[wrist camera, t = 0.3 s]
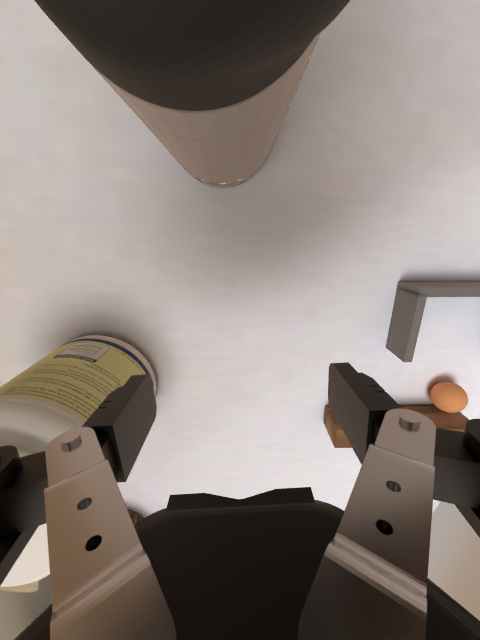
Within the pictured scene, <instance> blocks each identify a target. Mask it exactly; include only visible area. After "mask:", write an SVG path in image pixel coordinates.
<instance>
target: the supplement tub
mask: <svg viewBox="0 0 480 640" xmlns="http://www.w3.org/2000/svg"><path fill="white" fill-rule="evenodd" d="M143 374H150V376H151V378H152V383H153V389H154V394H155V398H156V380H155V375H154V372H153V370H152V368H151V366H150V364H149V363H148V361H147V360H146V359H145V357H144V356H143V355H142V354H141V353H140V352H139V351H138V350H137V349H135V348H134V347H132V346H131V345H129V344H127V343H126V342H123V341H121V340H119V339H116V338H112V337H108V336H100V335H91V336H83V337H79V338H76V339H73V340H70V341H68V342H66V343H64V344H63V345H61V346H60V347H59V348H57V349H56V350H54V351H53V352H51V353H50V354H49V355H47V356H46V357H44V358H43V359H41V360H40V361H38V362H37V363H35V364H34V365H32V366H31V367H30V368H28V369H27V370H25V371H24V372H22V373H21V374H19V375H18V376H16V377H15V378H13V379H12V380H10V381H9V382H7V383H6V384H4V385H3V386H2V387H0V446H6V445H11V446H15V447H16V448H17V450H18V453H19V455H20V457H24V456H27V455H31V454H35V453H39V452H42V451H45V449H46V447H47V445H48V444H49V443H50V442H51V441H52V440H53V439H54V438H56V437H57V436H59V435H60V434H62V433H64V432H66V431H68V430H71V429H75V428H79V427H82V426H83V424H84V423H85V422H86V421H87V420H88V418H89V417H90V416H91V415H92V414H93V412H94V411H95V410H96V409H98V407H99V405H100V404H101V403H103V401H104V399H105V398H106V397H107V396H108V395H109V394H110V393H111V392H113V391H114V390H116V389H117V388H119V387H123V385H124V384H125V383H126V382H127V380H128V379H129V378H130V377H131V376H132V375H143ZM49 574H50V567H49V553H48V539H47V525H46V524H43V525H40V526H38V528H37V530H36V531H35V533H34V534H33V536H32V537H31V539H30V541H29V542H28V544H27V545H26V547H25V548H24V550H23V551H22V553H21V555H20V556H19V558H18V559H17V561H16V562H15V564H14V565H13V567H12V569H11V570H10V572H9V573H8V575H7V576H6V578H5V579H4V581H3V583H2V584H1V586H17V585H23V584H28V583H31V582H34V581H37V580H39V579H42V578H43V577H45V576H47V575H49Z"/></svg>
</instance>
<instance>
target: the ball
mask: <svg viewBox="0 0 480 640" xmlns="http://www.w3.org/2000/svg"><path fill="white" fill-rule="evenodd" d="M430 396H431V400H432V402H433V403H434V405H435V406H436V407H437V408H439V409H440V410H442V411H445V412H449V413H455V412H459V411H461V410H463V409H464V408H465V407H466V405H467V403H468V397H467V394H466V392H465V391H464V390H463V388H461V387H460V386H459V385H457V384H455V383H451V382H441V383H438V384H436V385H435V386H434V387H433V388H432V390H431V393H430Z"/></svg>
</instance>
